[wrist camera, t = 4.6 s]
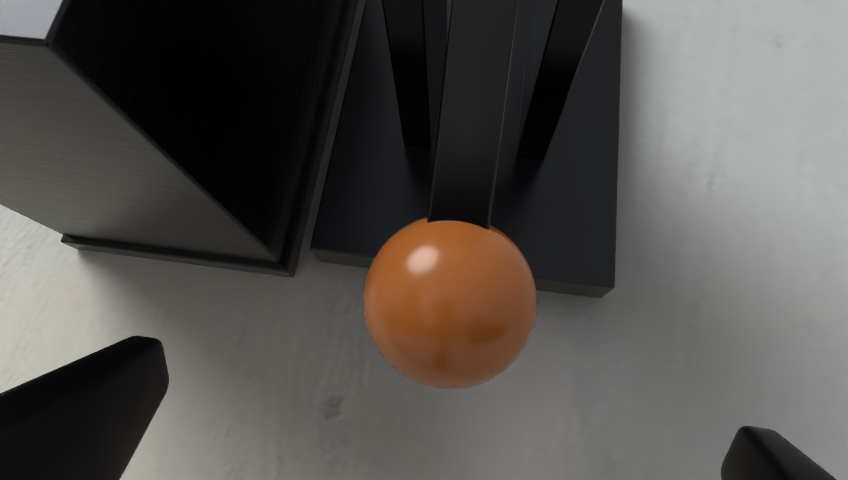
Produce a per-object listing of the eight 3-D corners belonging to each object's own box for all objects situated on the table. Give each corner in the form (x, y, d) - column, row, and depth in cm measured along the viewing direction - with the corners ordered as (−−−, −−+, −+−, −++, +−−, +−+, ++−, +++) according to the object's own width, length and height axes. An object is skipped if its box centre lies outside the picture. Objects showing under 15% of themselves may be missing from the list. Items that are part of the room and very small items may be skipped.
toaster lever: (517, 365, 11) (533, 434, 8) (373, 344, 12) (334, 404, 8) (608, -293, 10) (670, -520, 7) (440, -299, 10) (425, -519, 7)
